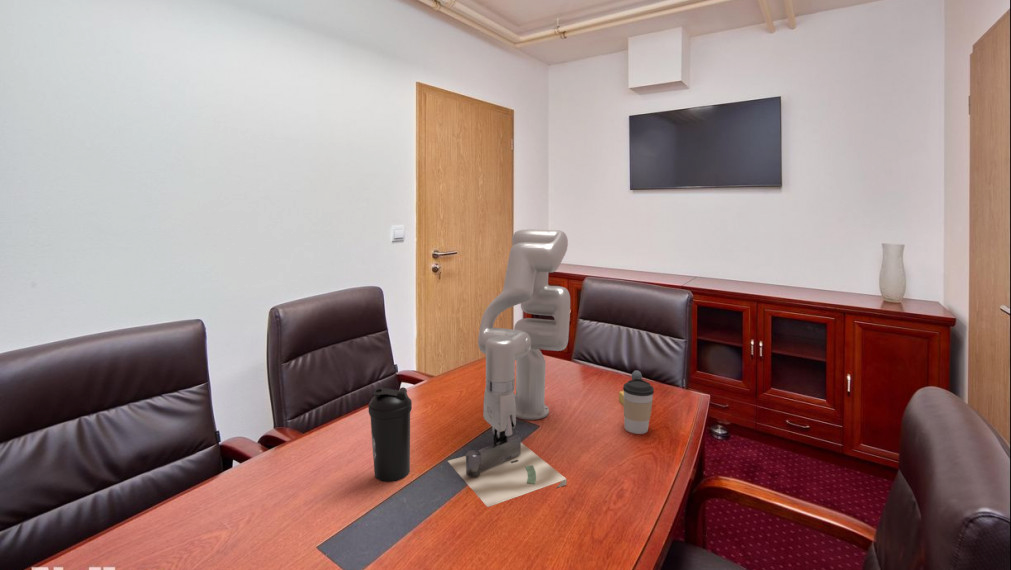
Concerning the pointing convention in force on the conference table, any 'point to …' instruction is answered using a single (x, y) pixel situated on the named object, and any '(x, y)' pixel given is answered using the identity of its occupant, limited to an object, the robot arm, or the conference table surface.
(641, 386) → the coffee cup
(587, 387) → the conference table surface
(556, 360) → the conference table surface
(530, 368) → the robot arm
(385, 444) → the water bottle
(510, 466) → the dial plate
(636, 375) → the rubber stamp
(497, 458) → the pointer lever
